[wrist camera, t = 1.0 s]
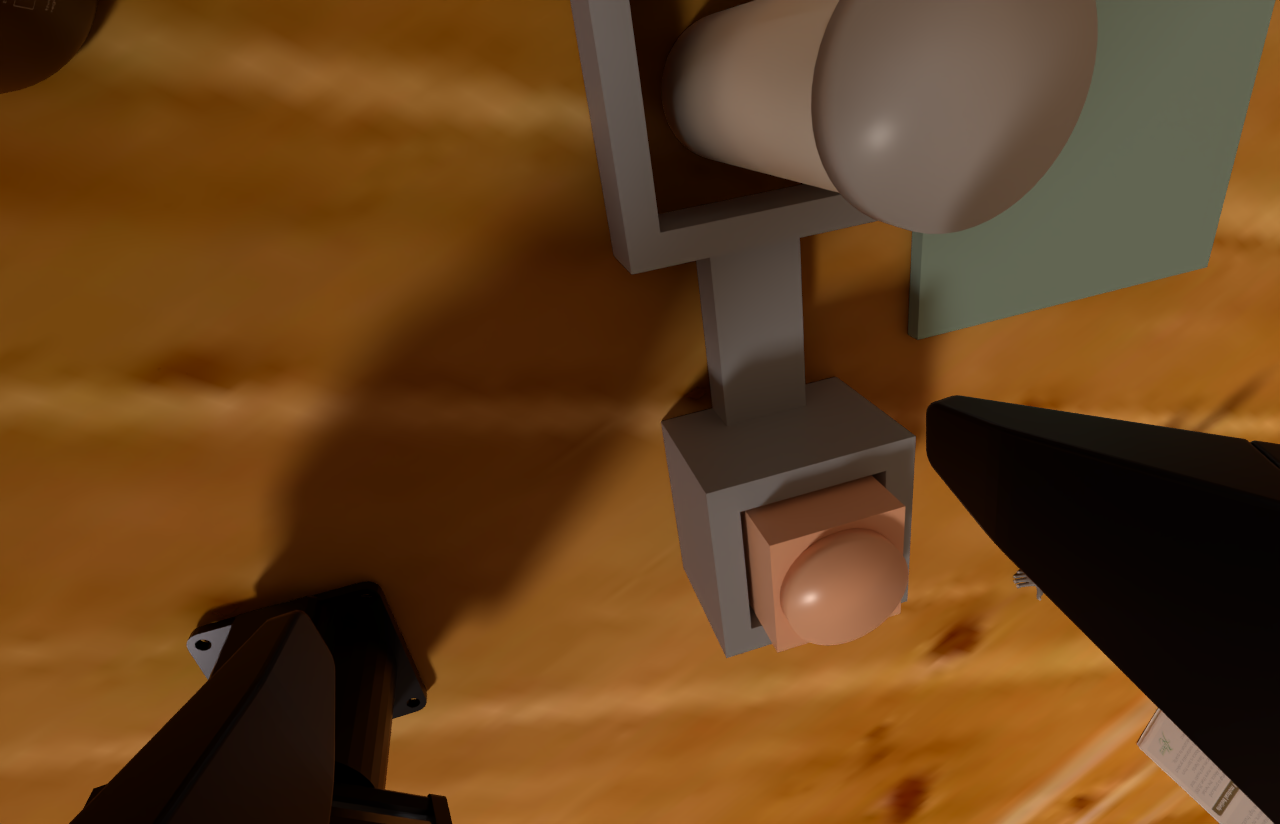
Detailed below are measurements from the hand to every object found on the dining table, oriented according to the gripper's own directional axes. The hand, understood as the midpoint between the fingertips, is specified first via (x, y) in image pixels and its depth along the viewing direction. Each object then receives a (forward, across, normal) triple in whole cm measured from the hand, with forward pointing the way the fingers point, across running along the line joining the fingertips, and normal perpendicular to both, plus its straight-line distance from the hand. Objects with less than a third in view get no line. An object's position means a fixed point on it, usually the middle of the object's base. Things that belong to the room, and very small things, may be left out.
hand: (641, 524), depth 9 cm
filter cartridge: (+13, -7, -4) cm, 16 cm away
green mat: (+13, -20, -1) cm, 24 cm away
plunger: (+12, -6, +10) cm, 17 cm away
